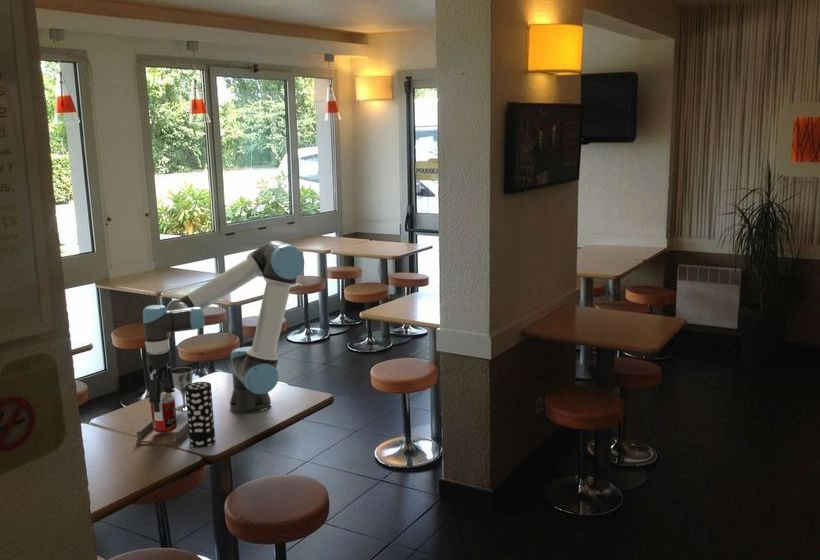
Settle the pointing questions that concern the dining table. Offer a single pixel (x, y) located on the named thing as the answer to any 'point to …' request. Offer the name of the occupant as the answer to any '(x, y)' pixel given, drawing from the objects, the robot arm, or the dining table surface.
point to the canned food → (165, 415)
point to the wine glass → (182, 382)
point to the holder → (162, 435)
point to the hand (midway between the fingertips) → (164, 415)
